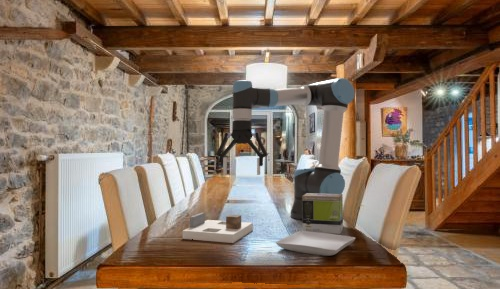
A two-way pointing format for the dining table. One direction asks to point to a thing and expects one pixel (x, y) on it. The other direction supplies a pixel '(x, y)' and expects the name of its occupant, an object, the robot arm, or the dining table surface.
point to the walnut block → (233, 221)
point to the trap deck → (214, 230)
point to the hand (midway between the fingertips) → (241, 174)
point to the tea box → (322, 213)
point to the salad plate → (315, 243)
